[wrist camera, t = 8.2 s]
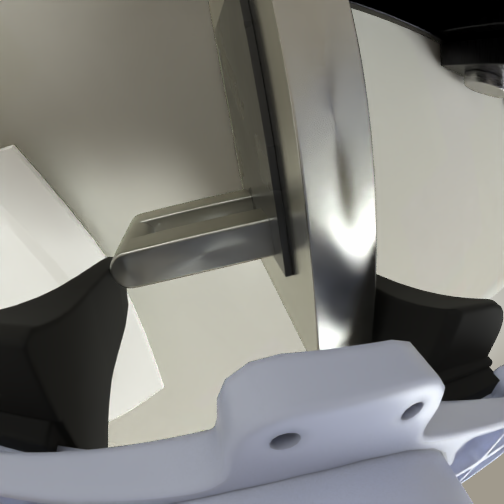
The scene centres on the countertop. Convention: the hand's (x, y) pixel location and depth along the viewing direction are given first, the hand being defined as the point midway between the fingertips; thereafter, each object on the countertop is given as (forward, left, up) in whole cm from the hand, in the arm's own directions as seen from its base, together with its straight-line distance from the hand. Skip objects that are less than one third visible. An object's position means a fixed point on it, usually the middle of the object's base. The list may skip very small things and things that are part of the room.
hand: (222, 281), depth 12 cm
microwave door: (+1, -5, -5) cm, 7 cm away
